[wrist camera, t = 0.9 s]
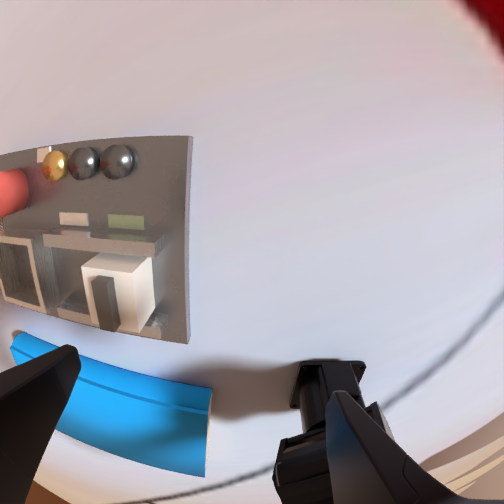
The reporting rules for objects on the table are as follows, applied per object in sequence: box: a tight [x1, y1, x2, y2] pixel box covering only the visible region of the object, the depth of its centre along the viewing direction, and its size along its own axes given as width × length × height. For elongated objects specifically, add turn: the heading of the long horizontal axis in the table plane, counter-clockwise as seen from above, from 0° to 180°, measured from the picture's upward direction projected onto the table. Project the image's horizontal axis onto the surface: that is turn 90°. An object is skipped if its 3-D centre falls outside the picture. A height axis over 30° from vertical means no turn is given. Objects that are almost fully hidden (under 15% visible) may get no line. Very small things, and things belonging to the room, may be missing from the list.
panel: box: [0, 136, 193, 344], centre depth 19 cm, size 16×20×4 cm
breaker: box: [81, 252, 155, 333], centre depth 18 cm, size 4×4×4 cm
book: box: [10, 332, 213, 478], centre depth 26 cm, size 17×4×25 cm
